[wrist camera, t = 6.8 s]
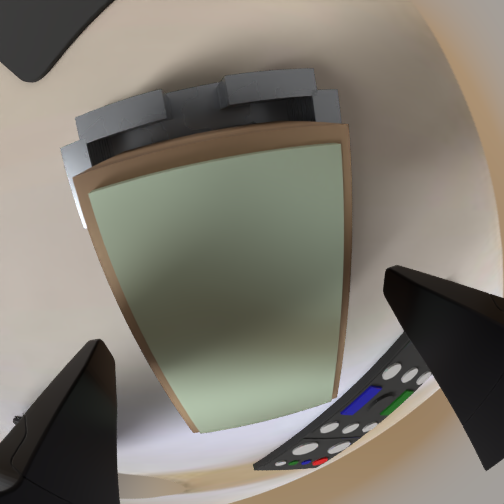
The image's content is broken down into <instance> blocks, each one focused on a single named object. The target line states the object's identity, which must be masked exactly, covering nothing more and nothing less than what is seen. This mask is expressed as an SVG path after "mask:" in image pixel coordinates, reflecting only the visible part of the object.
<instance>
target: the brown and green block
mask: <svg viewBox="0 0 504 504" xmlns="http://www.w3.org/2000/svg"><path fill="white" fill-rule="evenodd" d="M72 179H73V183H74V186H75V190H76V193H77V197H78V200H79V204H80V207H81V210H82V213H83V216H84V219H85V222H86V225H87V228H88V231H89V234H90V237H91V240H92V243H93V245H94V248H95V251H96V253H97V256H98V258H99V261H100V264H101V266H102V269H103V271H104V273H105V276H106V278H107V281H108V283H109V285H110V288H111V290H112V292H113V294H114V297H115V299H116V301H117V303H118V305H119V307H120V310H121V312H122V314H123V316H124V318H125V320H126V322H127V324H128V326H129V328H130V330H131V332H132V334H133V336H134V338H135V340H136V342H137V343H138V345H139V347H140V349H141V351H142V353H143V355H144V356H145V358H146V360H147V362H148V363H149V365H150V367H151V369H152V370H153V372H154V374H155V375H156V377H157V379H158V380H159V382H160V384H161V385H162V387H163V389H164V390H165V392H166V393H167V395H168V397H169V398H170V400H171V401H172V403H173V404H174V406H175V407H176V409H177V410H178V412H179V413H180V415H181V416H182V418H183V419H184V421H185V422H186V423H187V425H188V426H189V428H190V429H191V430H192V432H193V433H196V432H200V433H201V434H202V433H208V432H214V431H220V430H226V429H231V428H236V427H241V426H246V425H250V424H255V423H259V422H263V421H267V420H271V419H275V418H279V417H282V416H286V415H290V414H293V413H296V412H300V411H303V410H306V409H309V408H313V407H316V406H319V405H322V404H325V403H327V402H330V401H331V400H332V399H334V398H336V397H337V394H338V387H339V381H340V375H341V368H342V360H343V353H344V345H345V336H346V327H347V316H348V305H349V292H350V276H351V254H352V174H351V153H350V137H349V124H341V123H328V122H310V121H273V122H265V123H257V124H250V125H243V126H236V127H230V128H224V129H218V130H213V131H207V132H202V133H197V134H192V135H187V136H183V137H178V138H174V139H169V140H165V141H161V142H157V143H153V144H149V145H145V146H142V147H138V148H134V149H131V150H127V151H124V152H122V153H120V154H118V155H115V156H113V157H111V158H109V159H107V160H105V161H103V162H101V163H99V164H97V165H95V166H93V167H91V168H89V169H87V170H85V171H83V172H82V173H80V174H78V175H76V176H74V177H72Z"/></svg>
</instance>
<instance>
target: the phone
mask: <svg viewBox="0 0 504 504" xmlns="http://www.w3.org/2000/svg"><path fill="white" fill-rule="evenodd" d="M113 1H114V0H0V62H1V63H2V64H4V65H5V66H6V67H7V68H8V69H9V70H10V71H11V72H13V73H14V74H15V75H16V76H17V77H18V78H20V79H21V80H23V81H25V82H36V81H39V80H40V79H42V78H43V77H44V76H45V75H46V74H47V73H48V72H49V71H50V70H51V69H52V67H53V66H54V65H55V63H56V62H57V61H58V60H59V58H60V57H61V56H62V55H63V53H64V52H65V51H66V50H67V49H68V47H69V46H70V45H71V44H72V43H73V41H74V40H75V39H76V38H77V37H78V36H79V35H80V34H81V33H82V31H83V30H84V29H85V28H86V27H87V26H88V25H89V24H90V23H91V22H92V21H93V20H94V19H95V18H96V17H97V16H98V15H99V14H100V13H101V12H102V11H103V10H104V9H105V8H106V7H107V6H108V5H109V4H111V3H112V2H113Z"/></svg>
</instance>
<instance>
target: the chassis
mask: <svg viewBox="0 0 504 504" xmlns="http://www.w3.org/2000/svg"><path fill="white" fill-rule="evenodd" d="M75 120H76V125H77V130H78V134H79V139H80V140H79V141H76V142H74V143H71V144H69V145H66V146H64V147H62V148H60V149H61V153H62V157H63V161H64V165H65V169H66V173H67V176H68V180H69V183H70V187H71V190H72V193H73V197H74V200H75V203H76V206H77V209H78V212H79V215H80V218H81V221H82V224H83V226H84V229H85V228H87V225H86V222H85V219H84V216H83V213H82V210H81V207H80V204H79V200H78V197H77V193H76V190H75V186H74V183H73V179H72V177H74V176H76V175H78V174H80V173H82V172H83V171H85V170H87V169H89V168H91V167H93V166H95V165H97V164H99V163H101V162H103V161H105V160H107V159H109V158H111V157H113V156H115V155H118V154H120V153H122V152H124V151H127V150H131V149H134V148H138V147H142V146H145V145H149V144H153V143H157V142H161V141H165V140H169V139H174V138H178V137H183V136H187V135H192V134H197V133H202V132H207V131H213V130H218V129H224V128H230V127H236V126H243V125H250V124H257V123H265V122H273V121H310V122H328V123H341V114H340V106H339V98H338V90H337V89H328V90H317V87H316V81H315V75H314V69H313V68H305V69H283V70H269V71H259V72H249V73H241V74H234V75H227V76H224V77H223V79H222V80H221V82H218V83H213V84H207V85H202V86H197V87H192V88H187V89H183V90H178V91H174V92H170V93H166V94H165V92H164V91H163V90H162V89H159V90H155V91H151V92H148V93H144V94H141V95H137V96H134V97H131V98H128V99H124V100H121V101H118V102H115V103H112V104H110V105H107V106H104V107H101V108H99V109H96V110H93V111H91V112H88V113H86V114H83V115H81V116H78V117H76V118H75ZM341 124H342V123H341ZM141 352H142V351H141ZM144 357H145V356H144Z"/></svg>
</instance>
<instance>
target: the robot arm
mask: <svg viewBox="0 0 504 504" xmlns="http://www.w3.org/2000/svg"><path fill="white" fill-rule="evenodd" d="M383 292H384V296H385V298H386V300H387V301H388V303H389V305H390V307H391V308H392V310H393V312H394V314H395V316H396V317H397V319H398V321H399V323H400V325H401V326H402V328H403V330H404V332H405V333H406V335H407V336H408V338H409V339H410V341H411V342H412V344H413V345H414V347H415V348H416V350H417V351H418V353H419V354H420V356H421V357H422V359H423V360H424V362H425V363H426V365H427V367H428V368H429V370H430V371H431V373H432V374H433V376H434V378H435V379H436V381H437V383H438V384H439V386H440V387H441V389H442V391H443V392H444V394H445V396H446V397H447V399H448V401H449V403H450V404H451V406H452V408H453V409H454V411H455V413H456V415H457V417H458V418H459V420H460V422H461V423H462V425H463V428H464V429H465V431H466V433H467V435H468V437H469V439H470V441H471V443H472V445H473V447H474V448H475V450H476V453H477V455H478V457H479V459H480V461H481V463H482V465H483V467H484V469H485V470H486V471H487V470H489V469H490V468H491V467H493V466H494V465H495V464H497V463H498V462H500V461H501V460H502V459H503V458H504V298H501V297H498V296H495V295H492V294H488V293H486V292H483V291H480V290H477V289H474V288H471V287H467V286H464V285H461V284H458V283H455V282H452V281H448V280H445V279H442V278H439V277H436V276H432V275H429V274H426V273H422V272H419V271H416V270H413V269H409V268H406V267H402V266H399V265H395V266H392V267H389V268H387V269H386V271H385V278H384V287H383ZM13 423H14V424H16V425H15V426H14V428H13V429H12V430H11V431H10V432H9V434H8V435H7V436H6V437H5V438H4V439H3V440H2V441H1V443H0V504H120V499H119V487H118V472H117V395H116V375H115V361H114V358H113V356H112V354H111V353H110V351H109V350H108V348H107V347H106V345H105V343H104V342H103V341H102V340H101V339H95V340H90V341H88V342H87V343H86V344H85V345H84V346H83V348H82V349H81V350H80V351H79V352H78V353H77V354H76V355H75V356H74V357H73V358H72V360H71V361H70V362H69V363H68V364H67V365H66V366H65V367H64V368H63V370H62V371H61V372H60V373H59V374H58V375H57V376H56V378H55V379H54V380H53V381H52V382H51V383H50V384H49V386H48V387H47V388H46V389H45V390H44V391H43V393H42V394H41V395H40V396H39V397H38V398H37V400H36V401H35V402H34V403H33V404H32V406H31V407H30V408H29V409H28V410H27V412H26V413H25V415H23V417H22V418H21V419H17V418H14V419H13Z"/></svg>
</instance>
